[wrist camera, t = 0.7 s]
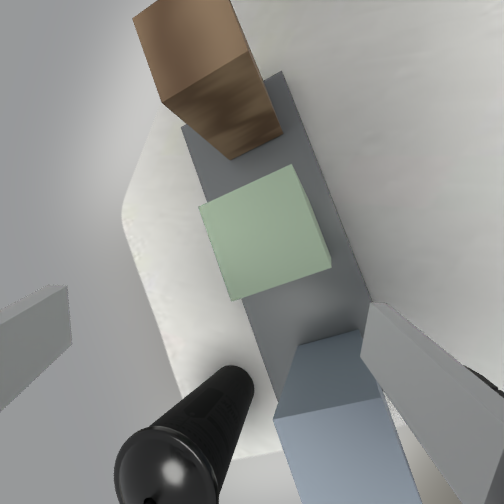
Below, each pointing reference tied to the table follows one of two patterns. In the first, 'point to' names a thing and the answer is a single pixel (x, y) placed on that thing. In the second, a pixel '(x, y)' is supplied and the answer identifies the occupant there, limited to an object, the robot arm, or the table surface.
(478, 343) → the table surface
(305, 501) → the blue-grey tall block
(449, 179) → the table surface
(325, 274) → the grey flat board
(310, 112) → the table surface
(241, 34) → the brown wooden block
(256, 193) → the pale green block
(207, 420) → the drinking cup
